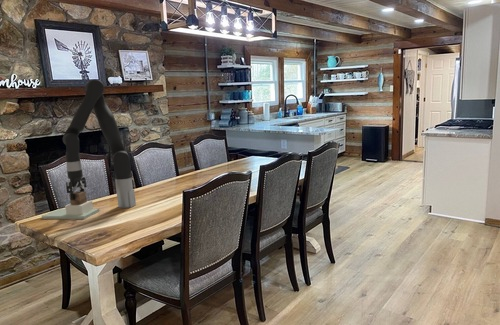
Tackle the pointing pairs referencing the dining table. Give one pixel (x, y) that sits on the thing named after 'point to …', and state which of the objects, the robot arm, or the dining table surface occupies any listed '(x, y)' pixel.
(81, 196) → the walnut cube
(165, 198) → the dining table surface
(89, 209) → the block
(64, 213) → the serving board
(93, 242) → the dining table surface
